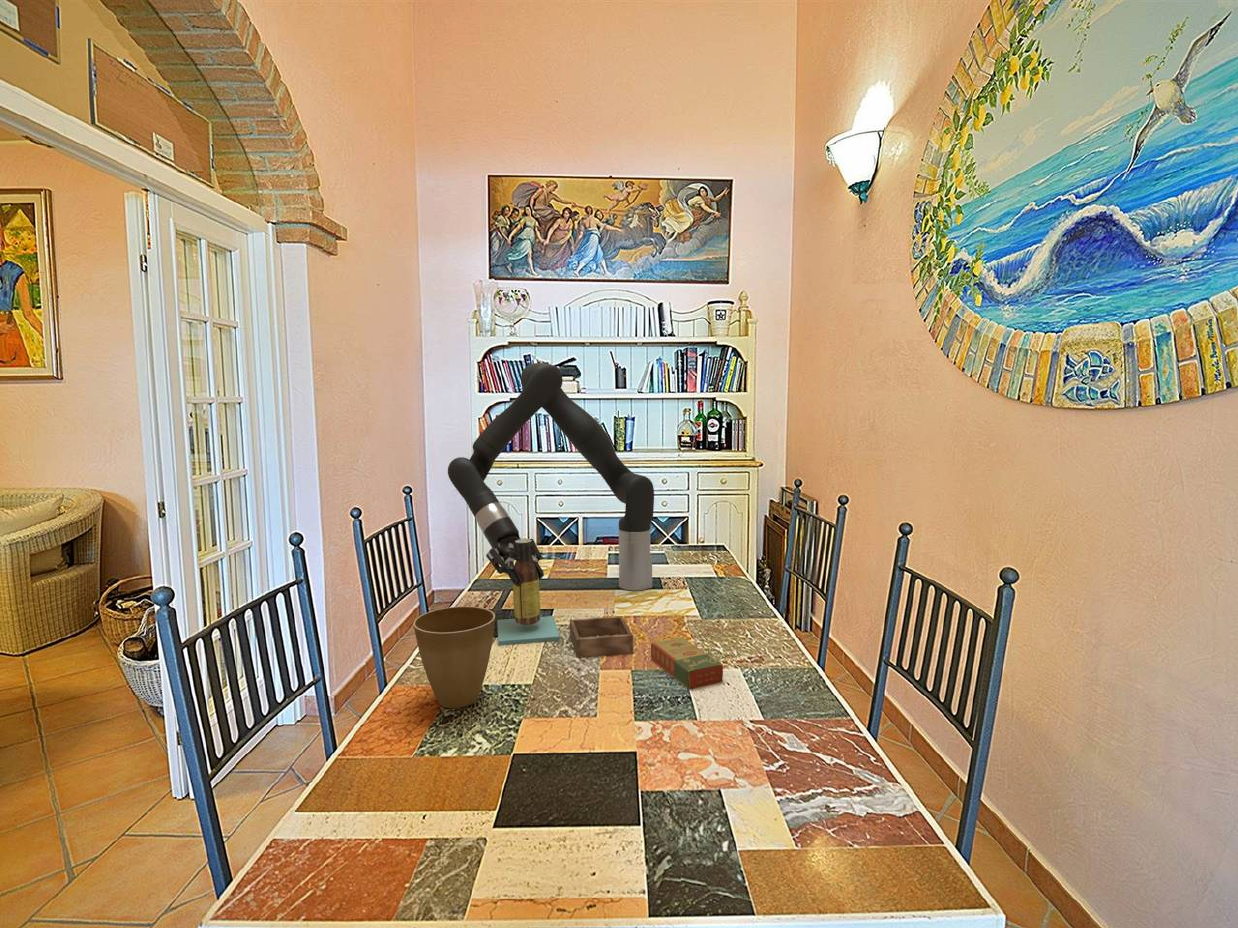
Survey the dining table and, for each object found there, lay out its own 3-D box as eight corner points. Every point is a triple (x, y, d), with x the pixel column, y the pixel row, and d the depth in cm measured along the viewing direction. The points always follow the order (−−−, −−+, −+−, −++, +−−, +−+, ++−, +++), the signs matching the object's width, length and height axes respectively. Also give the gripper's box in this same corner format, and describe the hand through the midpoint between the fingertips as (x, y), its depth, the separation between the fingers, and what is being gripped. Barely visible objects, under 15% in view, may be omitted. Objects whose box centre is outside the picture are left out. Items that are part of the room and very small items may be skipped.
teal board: (553, 619, 170) (553, 615, 170) (559, 640, 156) (559, 636, 156) (497, 623, 167) (497, 619, 167) (498, 645, 153) (498, 641, 153)
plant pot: (512, 690, 131) (510, 611, 129) (464, 725, 118) (461, 637, 116) (451, 676, 137) (448, 600, 135) (399, 708, 124) (395, 625, 122)
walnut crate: (621, 632, 161) (621, 615, 161) (633, 652, 149) (633, 635, 148) (569, 636, 159) (569, 619, 158) (576, 657, 147) (576, 639, 146)
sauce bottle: (544, 618, 163) (543, 538, 161) (533, 627, 157) (532, 544, 155) (520, 615, 165) (519, 536, 163) (508, 624, 160) (506, 542, 157)
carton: (683, 654, 149) (683, 635, 149) (724, 683, 135) (724, 662, 134) (650, 660, 146) (650, 641, 145) (688, 691, 131) (688, 670, 131)
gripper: (480, 520, 157) (515, 579, 152) (525, 511, 169) (560, 565, 163) (466, 539, 161) (500, 597, 155) (511, 529, 172) (544, 582, 167)
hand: (530, 580), depth 159 cm, fingers closed on sauce bottle, 6 cm apart
